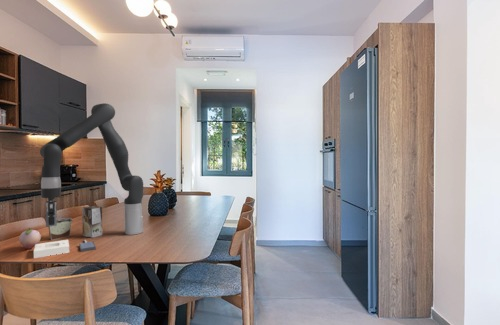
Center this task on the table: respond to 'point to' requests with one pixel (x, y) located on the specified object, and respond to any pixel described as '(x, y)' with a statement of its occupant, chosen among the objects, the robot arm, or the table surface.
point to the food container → (60, 229)
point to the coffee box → (92, 221)
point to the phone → (87, 246)
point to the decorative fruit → (29, 238)
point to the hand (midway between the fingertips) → (51, 223)
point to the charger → (48, 218)
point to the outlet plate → (51, 248)
